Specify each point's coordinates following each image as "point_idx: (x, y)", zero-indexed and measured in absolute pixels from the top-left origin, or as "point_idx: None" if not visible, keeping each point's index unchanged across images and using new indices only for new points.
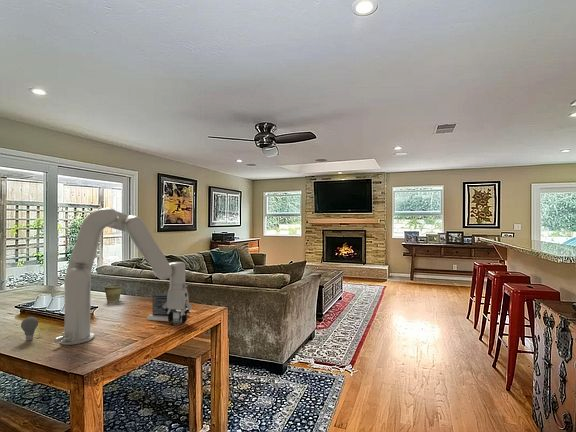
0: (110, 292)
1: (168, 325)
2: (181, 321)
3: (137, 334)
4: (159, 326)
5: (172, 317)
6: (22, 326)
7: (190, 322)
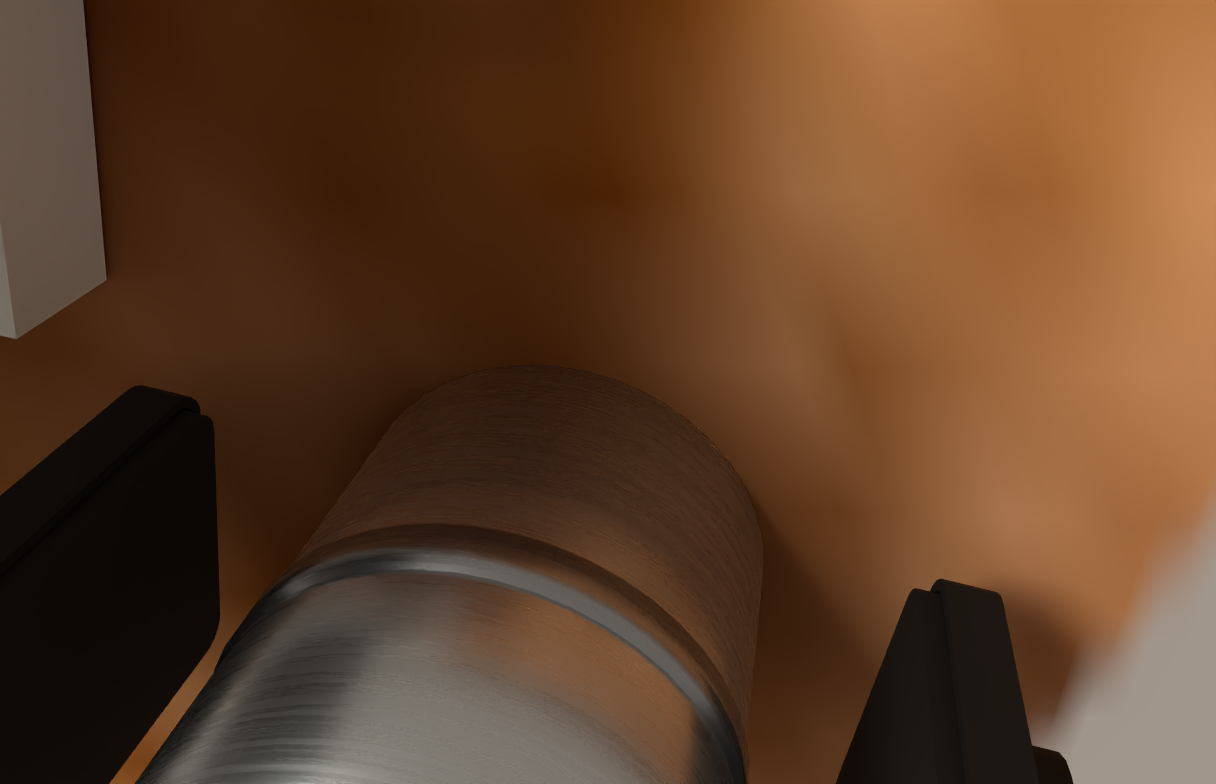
0: None
1: None
2: (754, 656)
3: None
4: None
5: (118, 543)
6: None
7: (1208, 414)
